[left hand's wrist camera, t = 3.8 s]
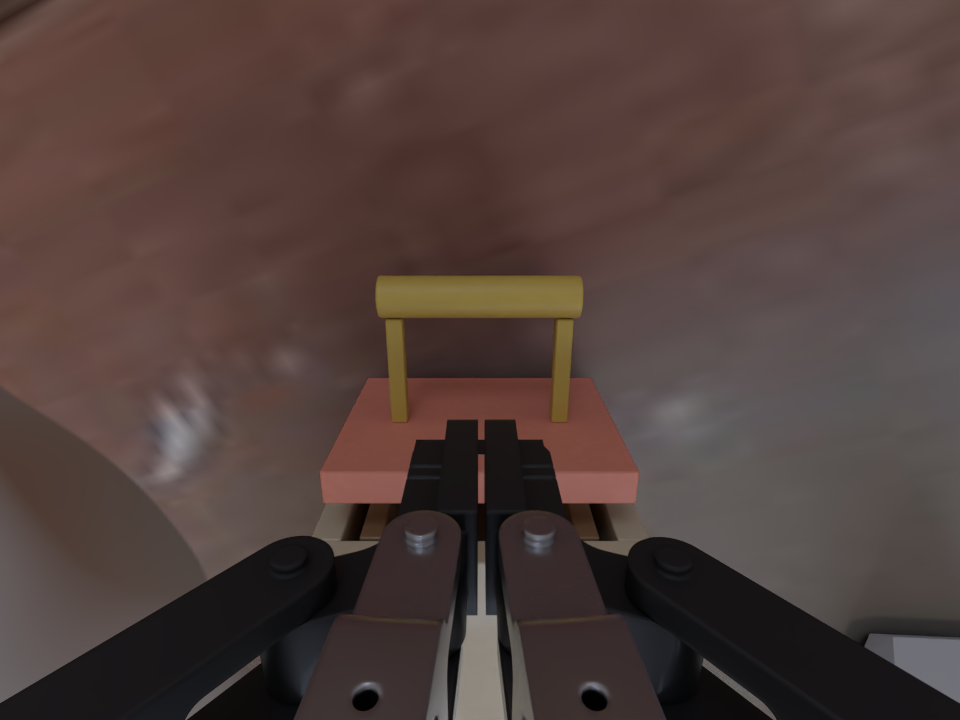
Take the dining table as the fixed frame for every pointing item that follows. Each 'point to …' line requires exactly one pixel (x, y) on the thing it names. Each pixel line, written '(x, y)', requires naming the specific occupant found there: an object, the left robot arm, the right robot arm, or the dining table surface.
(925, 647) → the electronic device
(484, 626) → the cream rectangular box
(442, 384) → the drawer
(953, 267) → the dining table surface
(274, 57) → the dining table surface
